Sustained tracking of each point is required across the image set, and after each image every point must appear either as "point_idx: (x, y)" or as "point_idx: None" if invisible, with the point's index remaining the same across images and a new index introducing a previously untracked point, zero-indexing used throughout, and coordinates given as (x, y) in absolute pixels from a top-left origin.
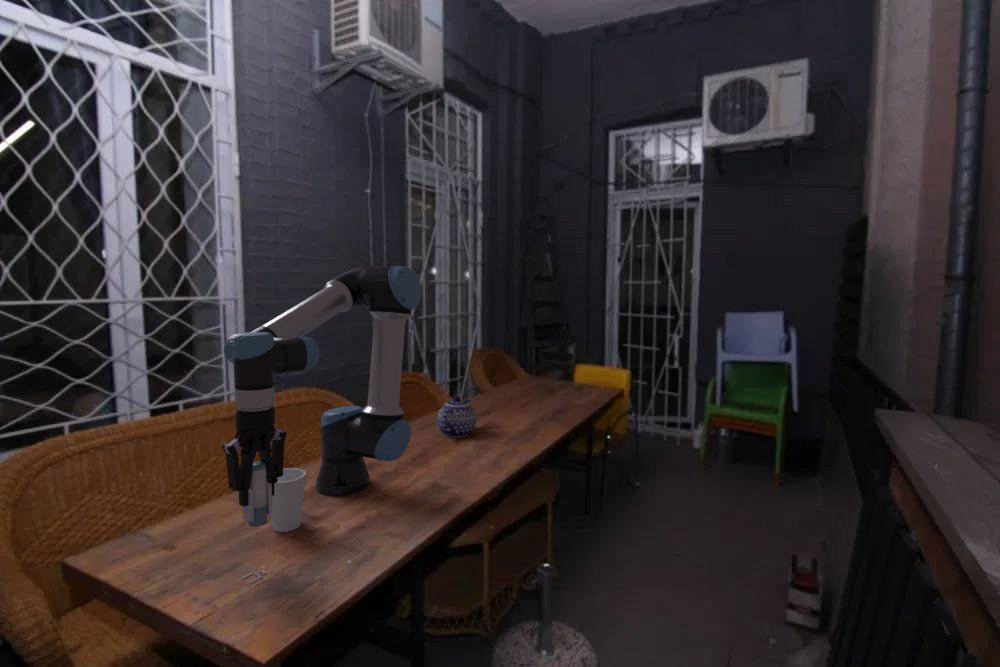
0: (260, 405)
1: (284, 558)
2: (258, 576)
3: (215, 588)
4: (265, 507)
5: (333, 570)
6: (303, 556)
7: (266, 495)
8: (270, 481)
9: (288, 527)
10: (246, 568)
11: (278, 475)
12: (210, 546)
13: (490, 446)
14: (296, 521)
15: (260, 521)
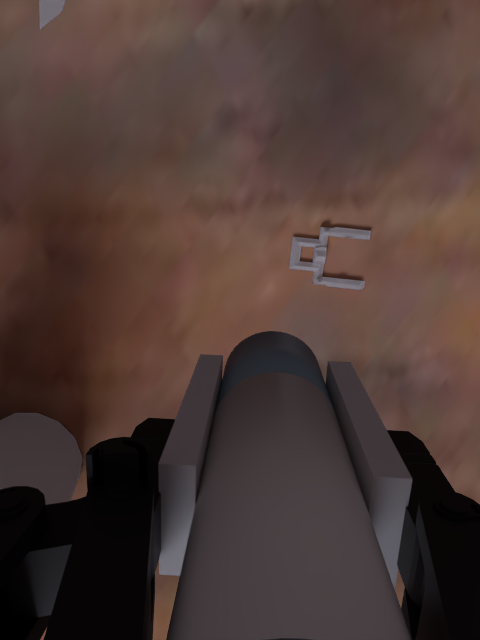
0: None
1: (188, 270)
2: (326, 242)
3: (444, 310)
4: (250, 370)
5: (136, 14)
6: (137, 218)
7: (226, 418)
8: (153, 491)
9: (48, 426)
10: (307, 330)
11: (41, 502)
12: None
13: None
14: (8, 424)
15: (290, 342)
